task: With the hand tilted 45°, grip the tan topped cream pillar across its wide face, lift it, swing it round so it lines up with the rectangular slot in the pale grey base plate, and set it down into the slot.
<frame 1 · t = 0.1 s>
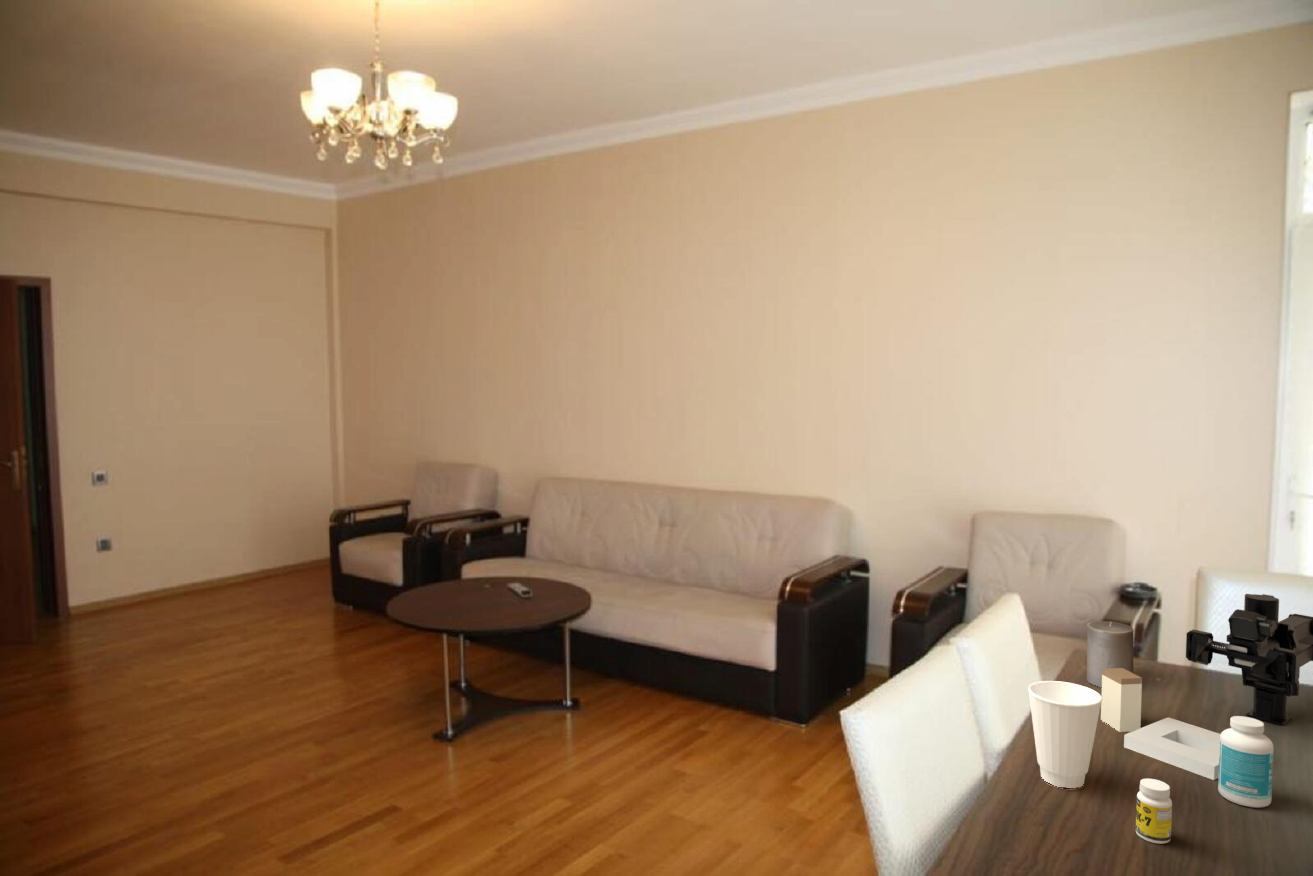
hand: (1223, 664, 160), 17 cm above the table, tool horizontal, fingers open, 9 cm apart
cup: (1062, 781, 149), on the table
supplement bottle: (1152, 837, 130), on the table
pillar candle: (1108, 684, 196), on the table
tan topped cream pillar: (1120, 725, 172), on the table
pill bottle: (1244, 800, 142), on the table
socket plate: (1189, 753, 159), on the table
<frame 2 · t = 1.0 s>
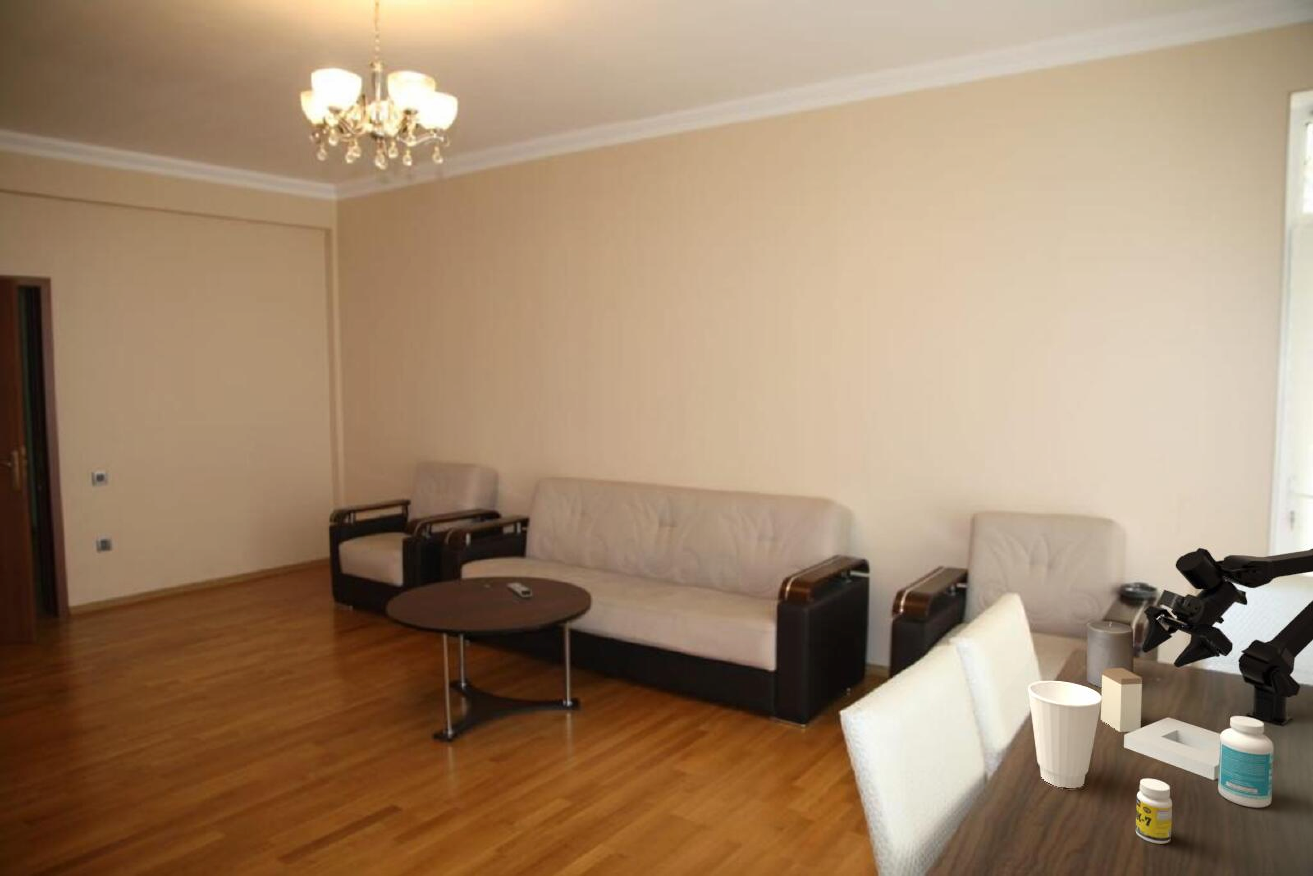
hand: (1158, 658, 172), 14 cm above the table, tool tilted 45°, fingers open, 9 cm apart
nothing on the table moved.
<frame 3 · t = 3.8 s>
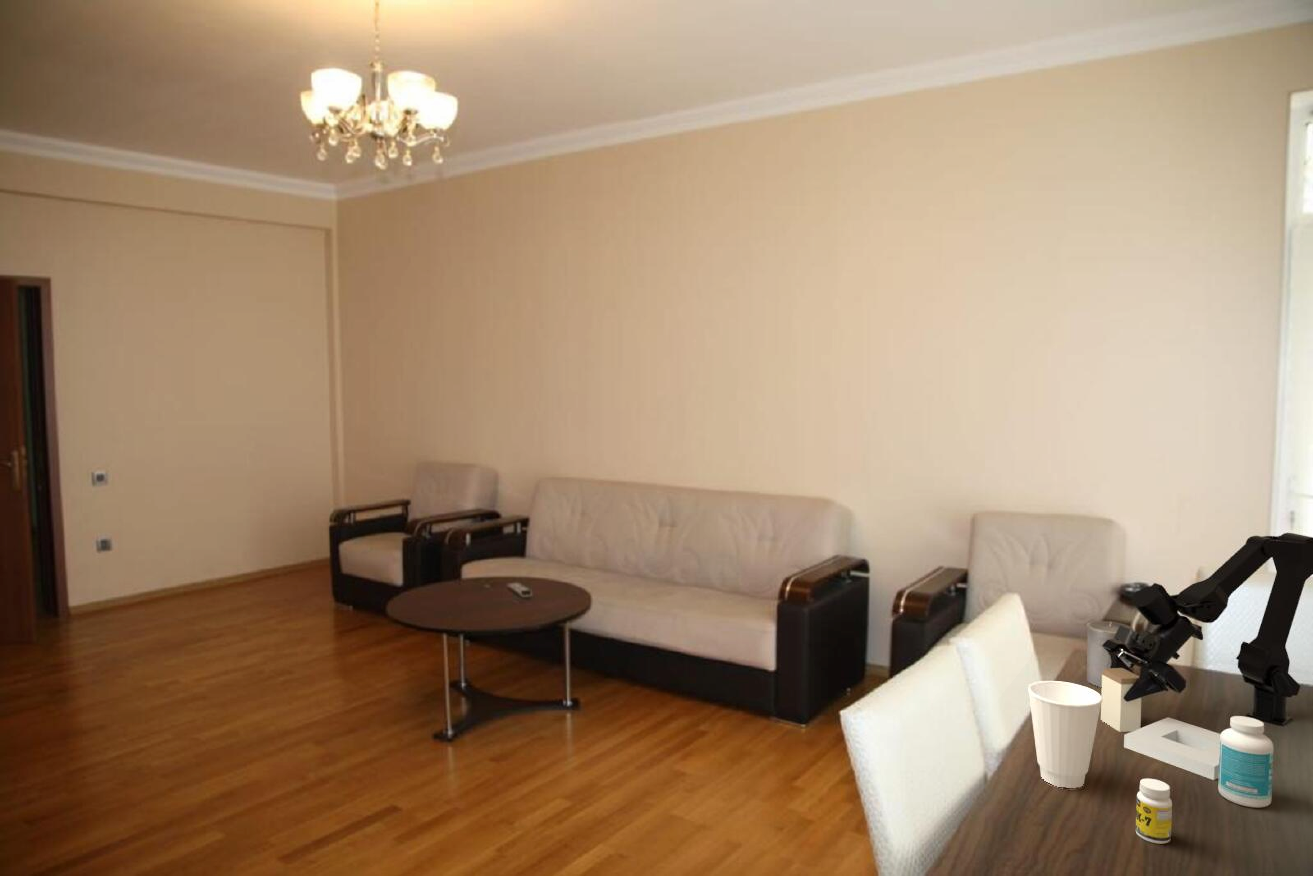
hand: (1114, 694, 172), 7 cm above the table, tool tilted 45°, fingers closed on tan topped cream pillar, 6 cm apart
tan topped cream pillar: (1120, 725, 172), on the table, touching gripper
everything else where it was.
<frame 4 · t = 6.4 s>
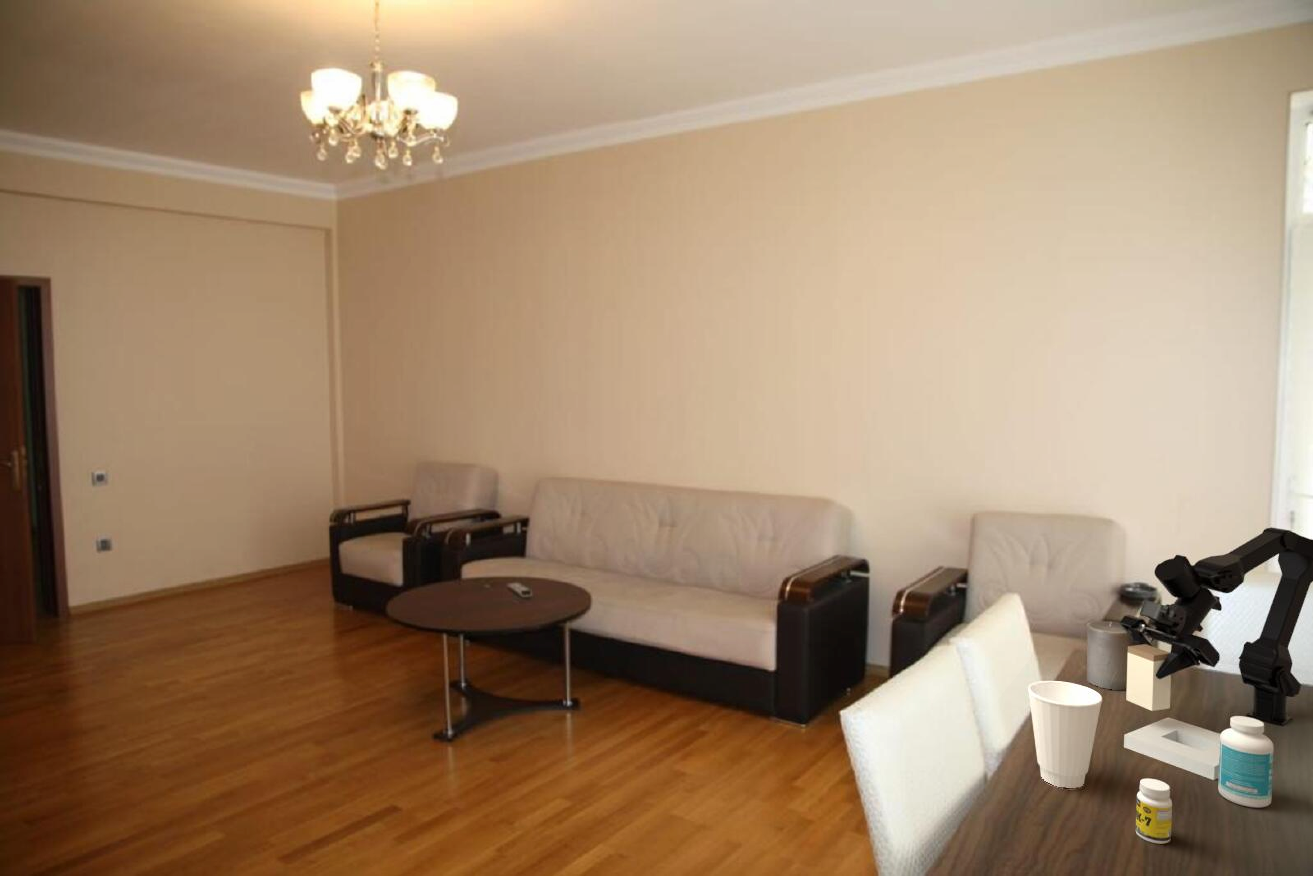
hand: (1143, 672, 165), 13 cm above the table, tool tilted 45°, fingers closed on tan topped cream pillar, 6 cm apart
tan topped cream pillar: (1147, 704, 166), point 7 cm above the table, touching gripper
everything else where it was.
when the fingers open (7 cm above the table, at t = 9.2 s): tan topped cream pillar stays where it is, resting in socket plate.
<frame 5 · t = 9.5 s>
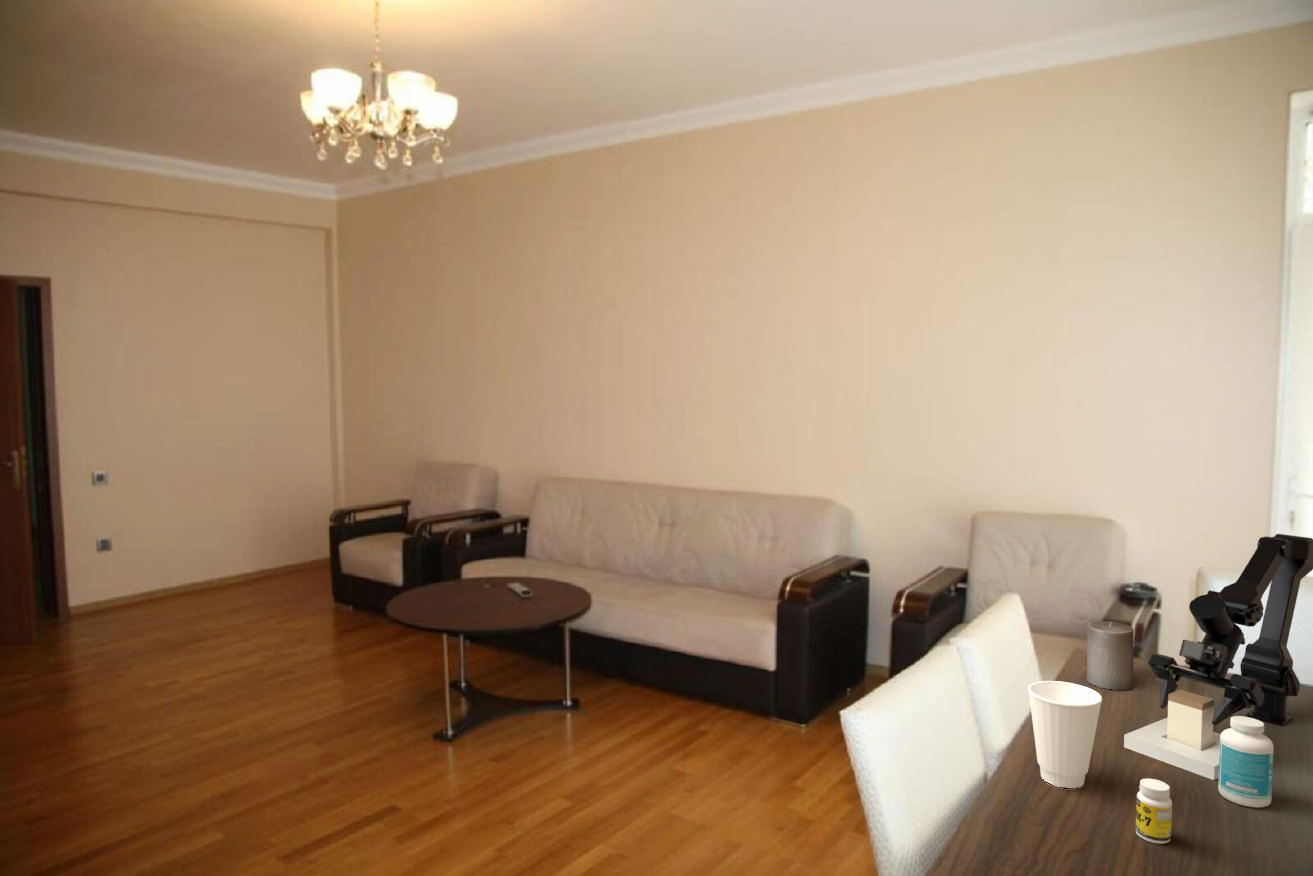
hand: (1186, 715, 158), 8 cm above the table, tool tilted 45°, fingers open, 9 cm apart
tan topped cream pillar: (1189, 753, 159), resting in socket plate
everything else where it was.
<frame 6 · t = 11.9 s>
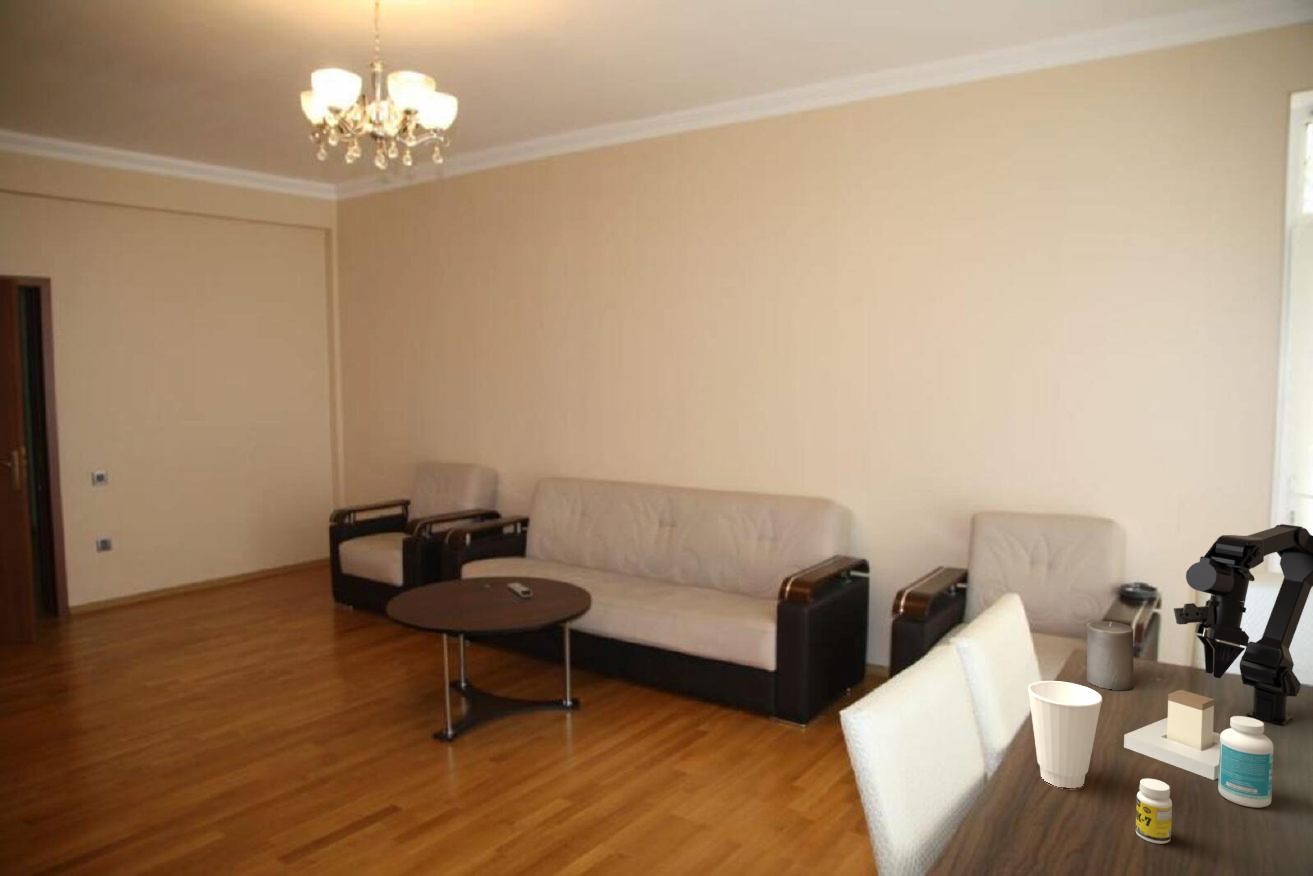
hand: (1212, 675, 166), 12 cm above the table, tool tilted 15°, fingers open, 9 cm apart
nothing on the table moved.
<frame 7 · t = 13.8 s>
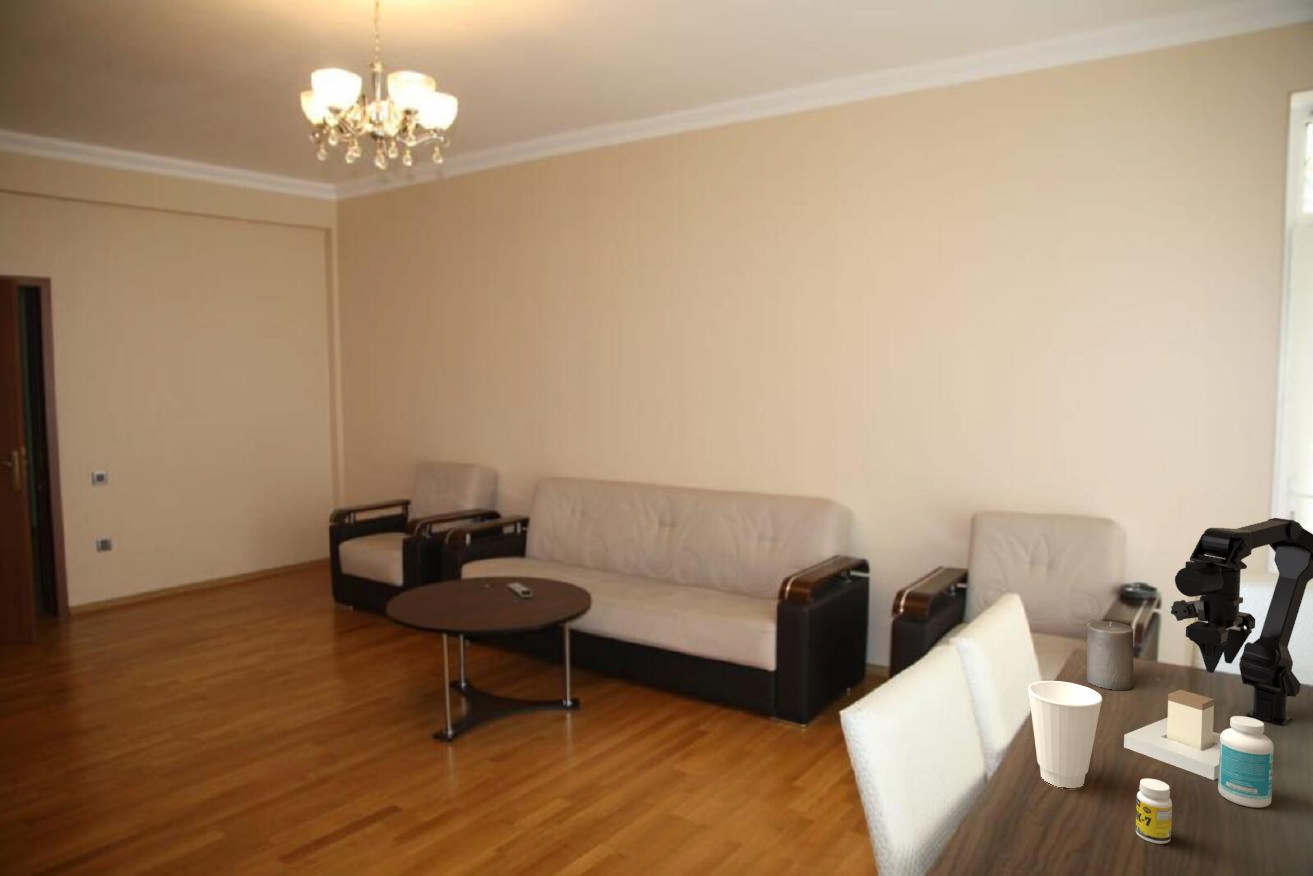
hand: (1219, 667, 169), 13 cm above the table, tool pointing down, fingers open, 9 cm apart
nothing on the table moved.
at the end: tan topped cream pillar 0.0 cm off-centre on the socket plate, point 0.0 cm above the socket plate's base; tan topped cream pillar tilted 0°; the gripper is holding nothing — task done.
